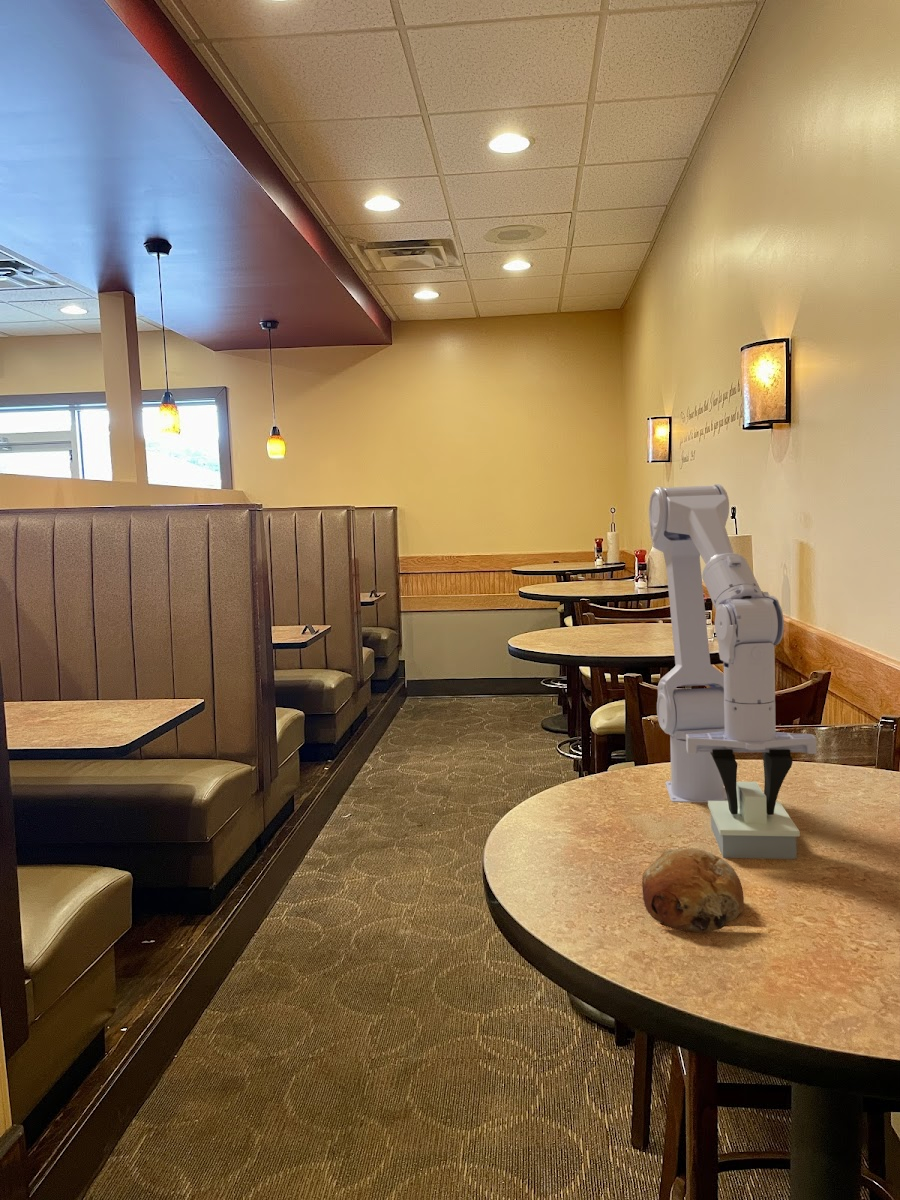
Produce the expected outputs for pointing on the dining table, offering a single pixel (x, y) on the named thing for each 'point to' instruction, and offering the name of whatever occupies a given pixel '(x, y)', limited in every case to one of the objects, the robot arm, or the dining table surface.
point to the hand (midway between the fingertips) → (751, 811)
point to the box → (755, 845)
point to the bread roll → (692, 890)
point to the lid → (752, 815)
